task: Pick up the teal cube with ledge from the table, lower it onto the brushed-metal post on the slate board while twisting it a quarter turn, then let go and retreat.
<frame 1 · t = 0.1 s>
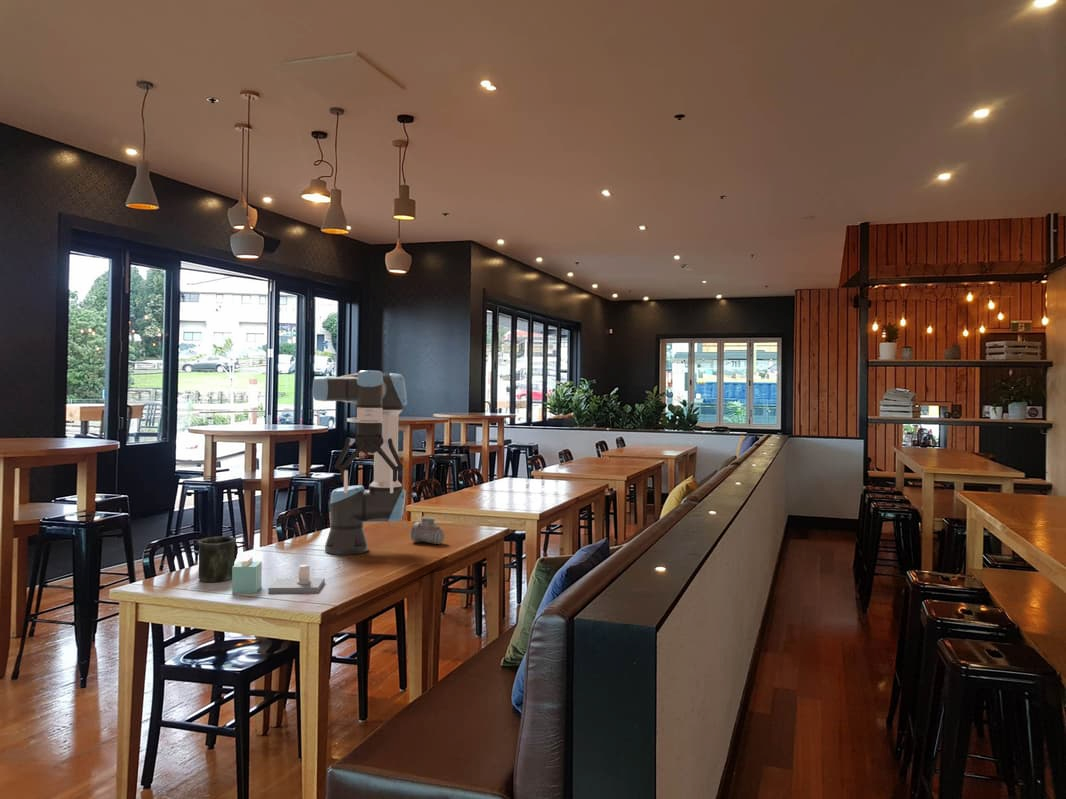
hand: (368, 492, 231), 28 cm above the table, fingers open, 13 cm apart
mug: (220, 578, 238), on the table
pipe fitting: (428, 544, 295), on the table
post board: (297, 587, 228), on the table
teal cube with ledge: (246, 589, 225), on the table
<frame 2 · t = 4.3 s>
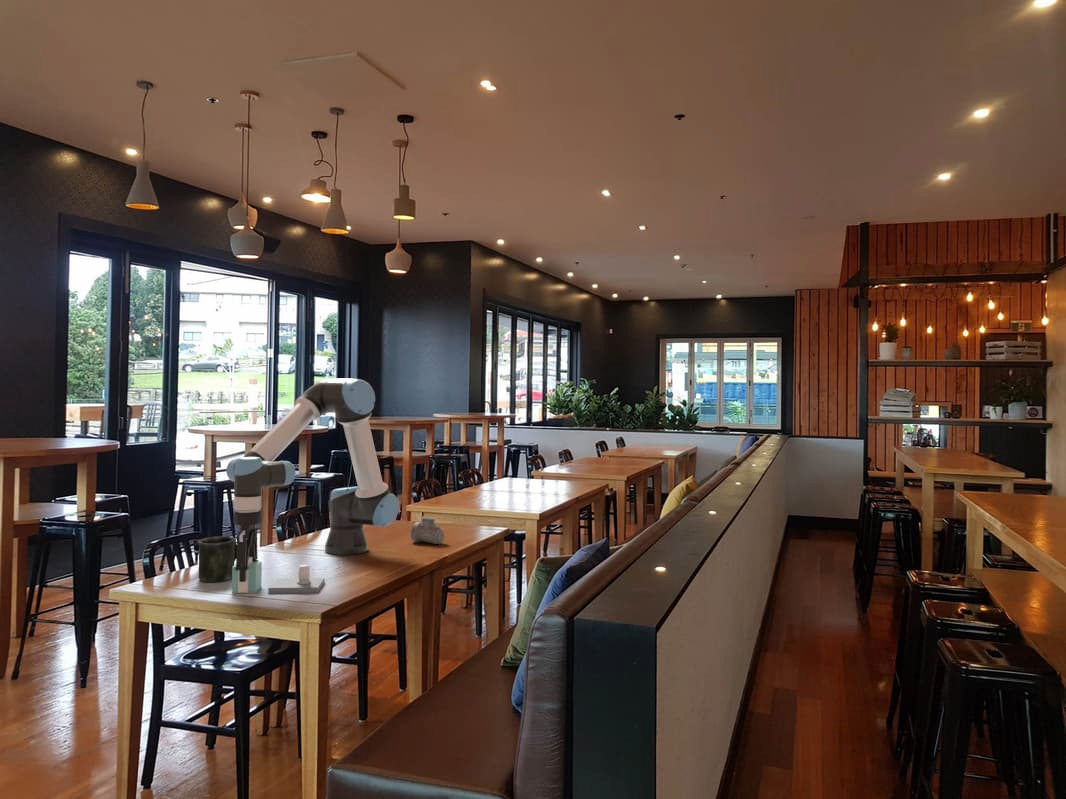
hand: (246, 588, 225), 0 cm above the table, fingers closed on teal cube with ledge, 7 cm apart
teal cube with ledge: (246, 589, 225), on the table, touching gripper
everything else where it was.
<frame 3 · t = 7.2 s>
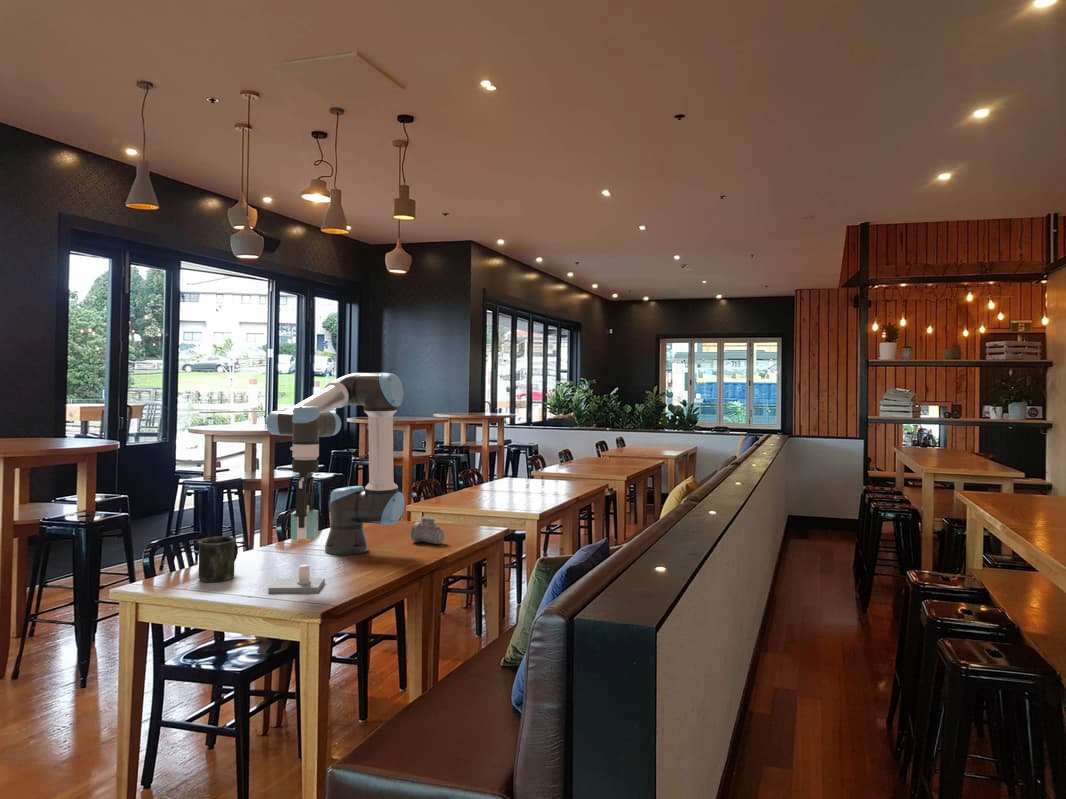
hand: (304, 536, 227), 15 cm above the table, fingers closed on teal cube with ledge, 7 cm apart
teal cube with ledge: (304, 537, 227), point 15 cm above the table, touching gripper
everything else where it was.
when the fingers open (3 cm above the table, at t = 10.0 s): teal cube with ledge drops 1 cm, resting on post board.
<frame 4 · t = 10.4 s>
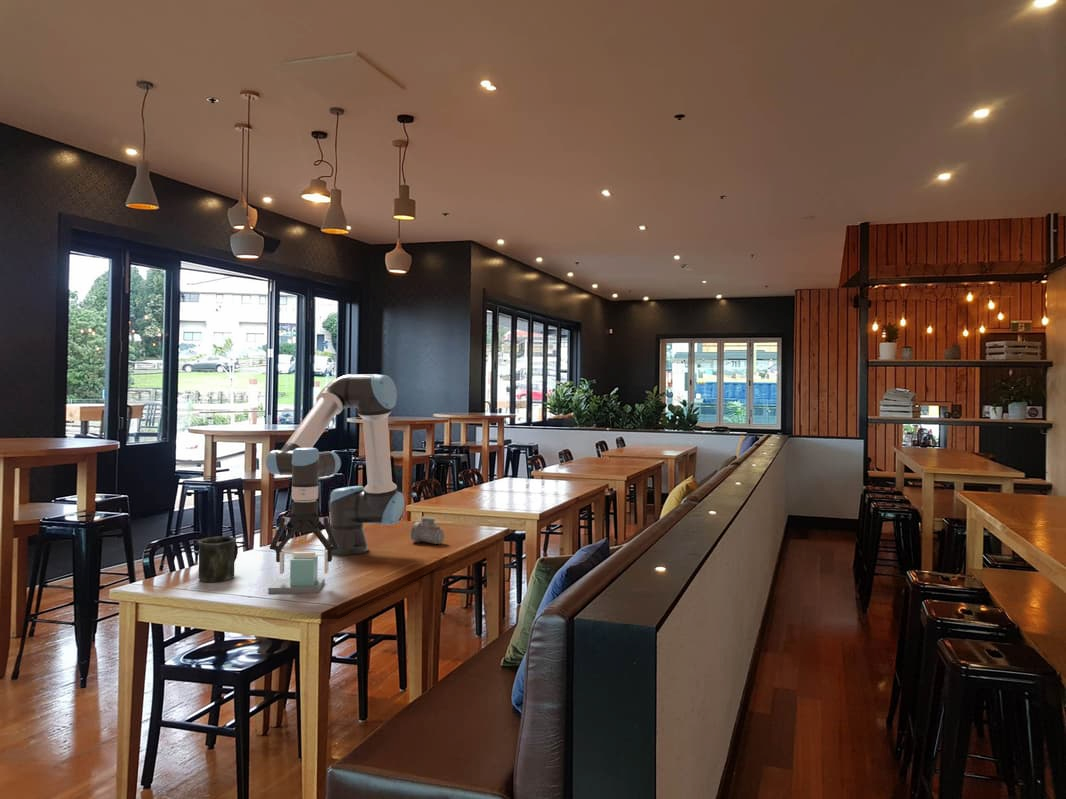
hand: (304, 573, 228), 4 cm above the table, fingers open, 12 cm apart
teal cube with ledge: (304, 582, 228), point 1 cm above the table, touching post board
everything else where it was.
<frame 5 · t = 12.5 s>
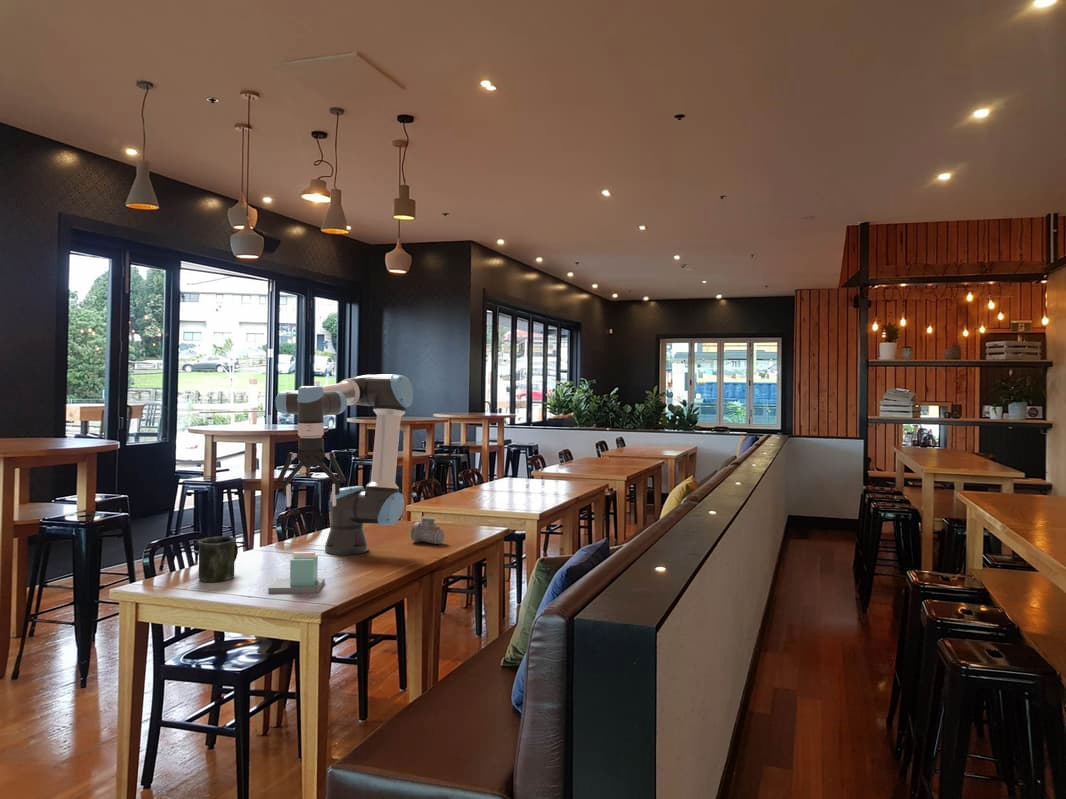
hand: (311, 505, 236), 23 cm above the table, fingers open, 13 cm apart
nothing on the table moved.
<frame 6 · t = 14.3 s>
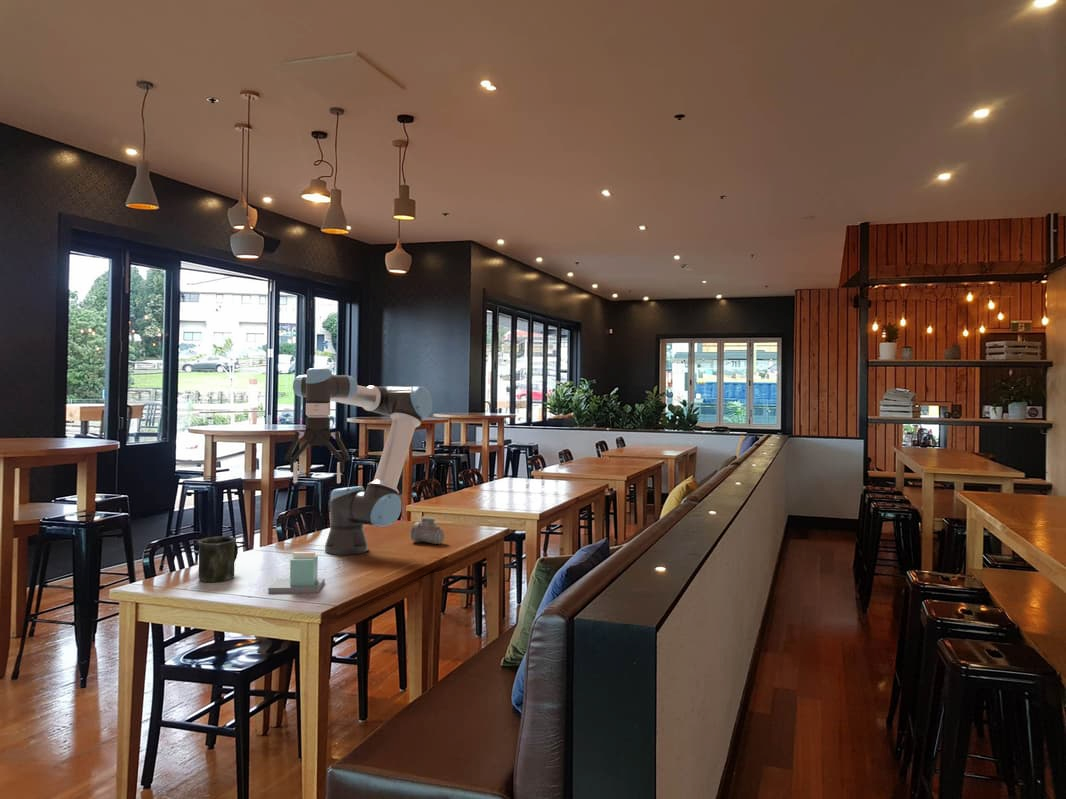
hand: (317, 482, 247), 29 cm above the table, fingers open, 13 cm apart
nothing on the table moved.
at the end: teal cube with ledge 0.1 cm from the target spot on the post board, point 1.5 cm above the post board's base; teal cube with ledge tilted 0°; the gripper is holding nothing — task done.
